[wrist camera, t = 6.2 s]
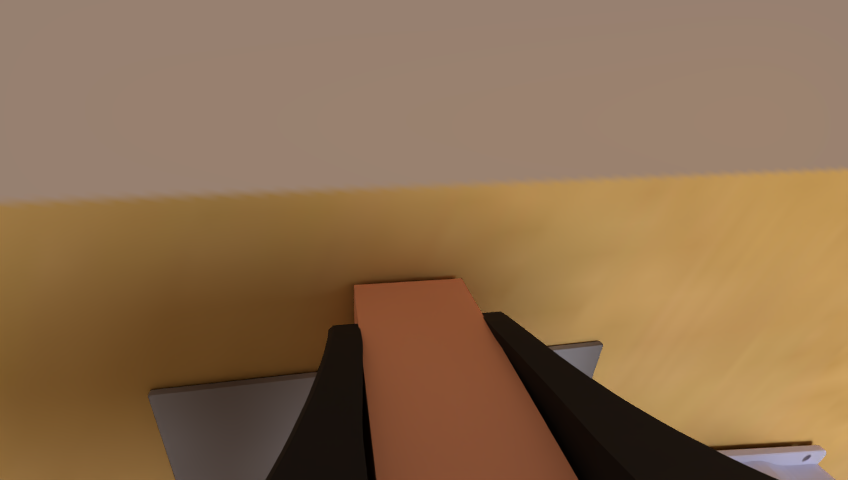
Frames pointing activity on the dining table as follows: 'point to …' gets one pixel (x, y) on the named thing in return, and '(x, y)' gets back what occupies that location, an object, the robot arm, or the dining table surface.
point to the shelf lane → (255, 420)
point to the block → (444, 391)
